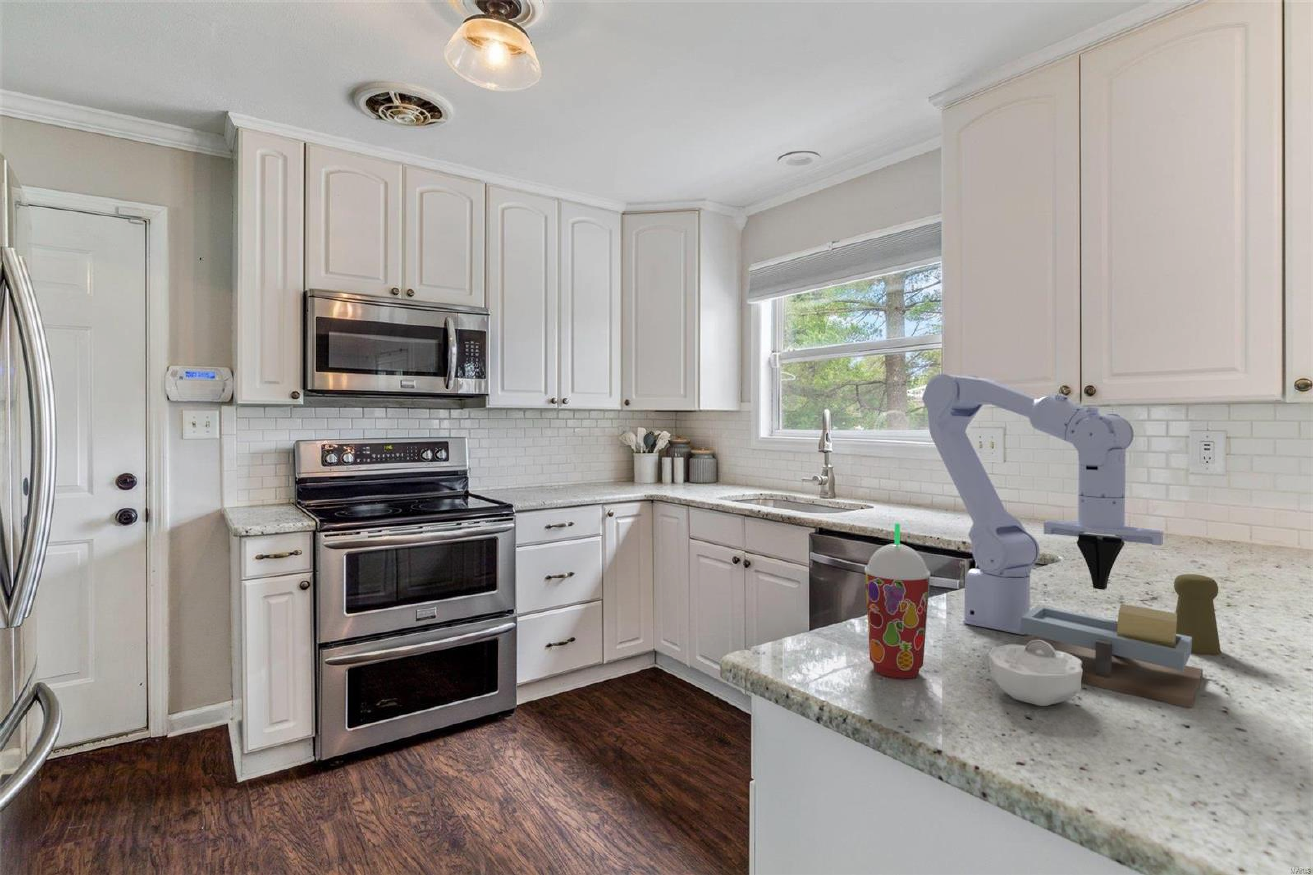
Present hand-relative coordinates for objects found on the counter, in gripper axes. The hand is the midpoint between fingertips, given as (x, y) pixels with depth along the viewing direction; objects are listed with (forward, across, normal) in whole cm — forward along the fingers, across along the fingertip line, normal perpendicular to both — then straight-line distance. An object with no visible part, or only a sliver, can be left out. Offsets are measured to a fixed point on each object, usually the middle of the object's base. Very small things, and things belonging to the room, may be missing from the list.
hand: (1100, 588), depth 98 cm
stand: (+9, +3, -9) cm, 13 cm away
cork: (+10, +10, +12) cm, 18 cm away
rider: (+5, +7, -9) cm, 12 cm away
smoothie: (+10, -18, -29) cm, 35 cm away
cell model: (+10, -2, -26) cm, 28 cm away
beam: (+6, +2, -9) cm, 11 cm away
